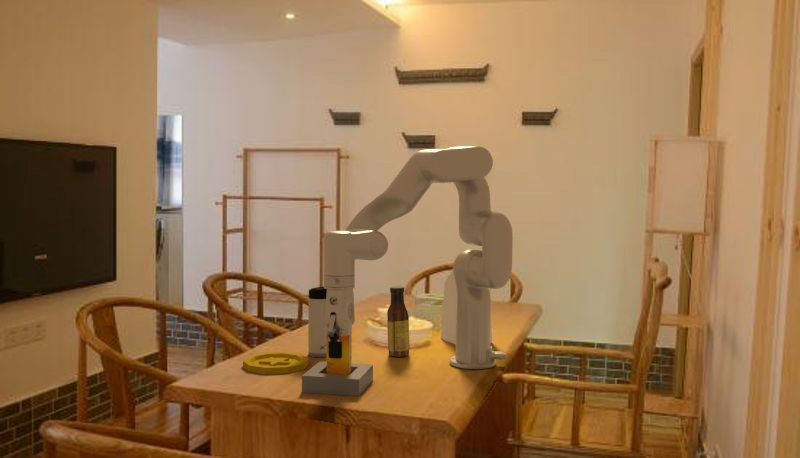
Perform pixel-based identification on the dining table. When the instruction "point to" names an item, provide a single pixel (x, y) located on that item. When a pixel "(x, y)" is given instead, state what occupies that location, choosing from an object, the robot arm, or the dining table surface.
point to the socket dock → (337, 380)
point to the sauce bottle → (398, 324)
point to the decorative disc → (275, 362)
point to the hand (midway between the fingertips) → (339, 354)
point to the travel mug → (317, 322)
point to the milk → (451, 311)
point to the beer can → (344, 363)
